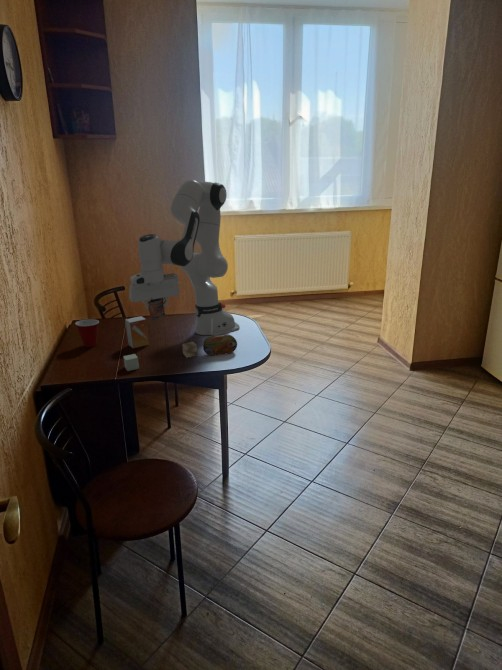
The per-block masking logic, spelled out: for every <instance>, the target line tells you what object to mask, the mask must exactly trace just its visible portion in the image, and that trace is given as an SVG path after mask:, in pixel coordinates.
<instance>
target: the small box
mask: <svg viewBox="0 0 502 670" xmlns="http://www.w3.org/2000/svg"><path fill="white" fill-rule="evenodd" d="M124 322H125V329H126V335H127V336H126V337H127V341H128V343H127V344H128V346H129V347H130V348H132V349H137V348H141V347H146V346H149V345H150V342H149V341H150V340H149V332H148V326H147V319H146V318H145V317H143V316H142V315H140V316H135V317H131V318H125V321H124Z"/></svg>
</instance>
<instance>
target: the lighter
mask: <svg viewBox="0 0 502 670" xmlns="http://www.w3.org/2000/svg"><path fill="white" fill-rule="evenodd" d="M164 301H165V299H164V298H159V299H152V297H151V300H148V301H147V305H148V306H149V311H148V313H149V320H150V321H156V320H160V319H163V318H164V317H165V316H166V312H165V308H163V303H164Z"/></svg>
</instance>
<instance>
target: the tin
mask: <svg viewBox="0 0 502 670" xmlns="http://www.w3.org/2000/svg"><path fill="white" fill-rule="evenodd" d="M237 347H238V341H237V339H236V338H235V337H234V336H233V335H230V334H221V335H218V336H212V335H211V336H209V337H207V338H206V339H204V341H203V344H202V348H203V351H204V353H205V354H206V355H208V356H210V357H211V356H212V357H214V356H221V355H229V354H232V353H234V352H235V351H236V350H237Z"/></svg>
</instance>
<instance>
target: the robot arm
mask: <svg viewBox="0 0 502 670" xmlns="http://www.w3.org/2000/svg"><path fill="white" fill-rule="evenodd" d="M226 200H227V189H226V187H225V185H224V184H222V183H220V182H212V181H197V180H194V179H187V180H185V181H183V183H182V185H180V187H179V188H178V190H177V192H176V193H175V195H174V198H173V199H172V202H171V206H170V209H171V210H170V211H171V213H172V217H174V219H176V220H177V222H179V223H181V224H184V229H183V233H182V237H181V238H179V239H177V240H168V239H162V238H160V237H158V235H157V234H155V233H149V234H144V235H142V236H141V237H139V239H138V245H137V248H138V250H137V251H138V252H137V253H138V258H139V259H138V260H139V262H140V272H139V273H138V272H137V274H135V275H132V276H130V278H129V280H130V282H131V283H130V284H129V287H128V288H129V289H128V291H129V292H128V294H129V300H130V301H131V302H132V304H133V303H141V302H142V303H143V304H144V306H145V308H146V311H147V312H149V304H148V301H151V297H152V299H159V298H164V300H163V302H164V303H163V308H164V309H167V308H168V305H167V304H168V302H169V298H170V297H176V296H179V295H180V293H181V292H180V290H181V289H180V286H179V276H178V275H177V274H176V273H174V272H173V273H164V272H165V271H164V266H163V264H164V265H171V266H172V265H175V266H179V267H181V270H182V271H183V272H184V273H185V274H186V275H187V276H188V278H189V280H190V282H191V284H192V286H193V287H192V288H193V290H194V291H193V292H194V296H195V310H194V311H195V314H196V315H195V316H196V323H195V324H196V325H195V331H194V332H195V334H197V335H201V336H211V337H212V336H220V335H225V334H228V333H231V332H234V331H237V330H240V324H238V323H237V322H236V321H235V318H234V316H233V315H232V314H231V313H229V312H228V311H227V310H224V309H225V308H226V304H224V303H222V302H220V301H219V296H218V295H219V294H218V287H217V286H216V284H215V283H214V282H213V281H212V280H211V278H212V279H218V278H221V277H222V278H223V277H224V276H225V275H226V273H227V272H228V269H229V268H228V267H229V264H228V260H227V259H226V258H225V257H224V256H223V254H222V251H221V248H220V242H219V241H220V230H221V207H223V206H224V205H225V203H226ZM196 242H197V244H199V246H200V248H201V253H200V252H194V248H195V244H196Z"/></svg>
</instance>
